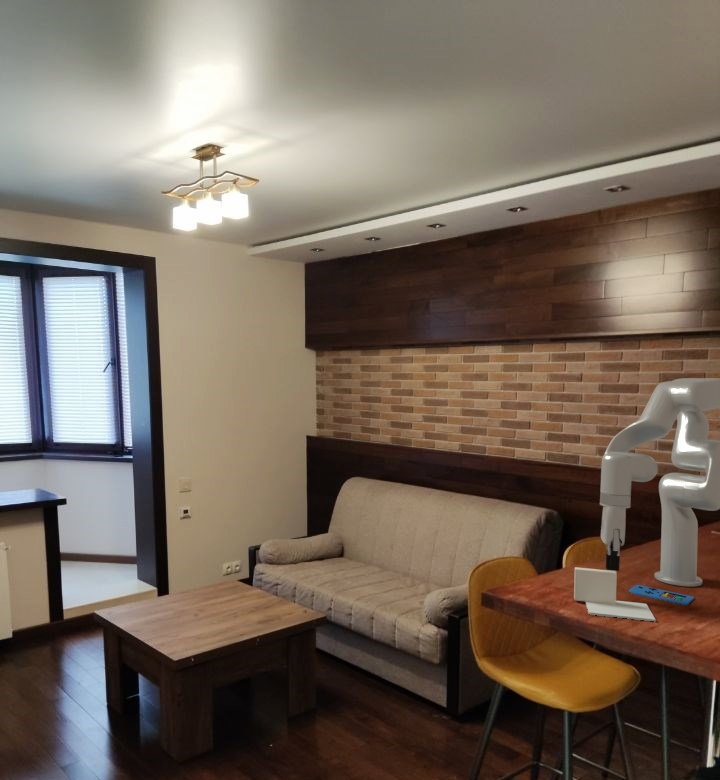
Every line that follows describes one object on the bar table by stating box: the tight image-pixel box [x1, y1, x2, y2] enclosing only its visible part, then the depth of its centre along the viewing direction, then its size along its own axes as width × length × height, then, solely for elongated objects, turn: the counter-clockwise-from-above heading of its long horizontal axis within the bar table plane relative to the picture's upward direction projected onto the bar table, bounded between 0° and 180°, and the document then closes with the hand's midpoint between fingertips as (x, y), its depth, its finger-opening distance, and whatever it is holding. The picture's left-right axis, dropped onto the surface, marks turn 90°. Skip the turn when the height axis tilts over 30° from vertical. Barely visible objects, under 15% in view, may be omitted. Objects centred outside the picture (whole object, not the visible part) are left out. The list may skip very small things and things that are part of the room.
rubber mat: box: [584, 600, 657, 623], centre depth 158 cm, size 12×15×1 cm
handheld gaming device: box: [628, 584, 695, 606], centre depth 171 cm, size 8×1×15 cm
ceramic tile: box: [573, 566, 618, 605], centre depth 163 cm, size 2×10×8 cm, turn 75°
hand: (612, 569), depth 167 cm, fingers closed
